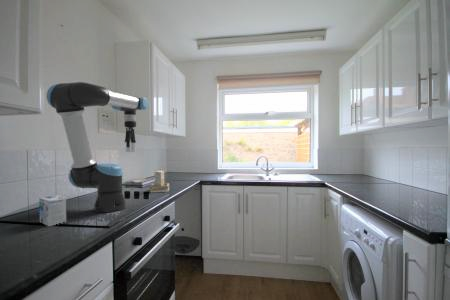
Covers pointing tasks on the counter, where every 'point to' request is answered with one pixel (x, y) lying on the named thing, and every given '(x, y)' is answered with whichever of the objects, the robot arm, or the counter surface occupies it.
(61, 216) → the light bulb box
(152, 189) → the dock
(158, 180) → the supplement box
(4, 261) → the counter surface
